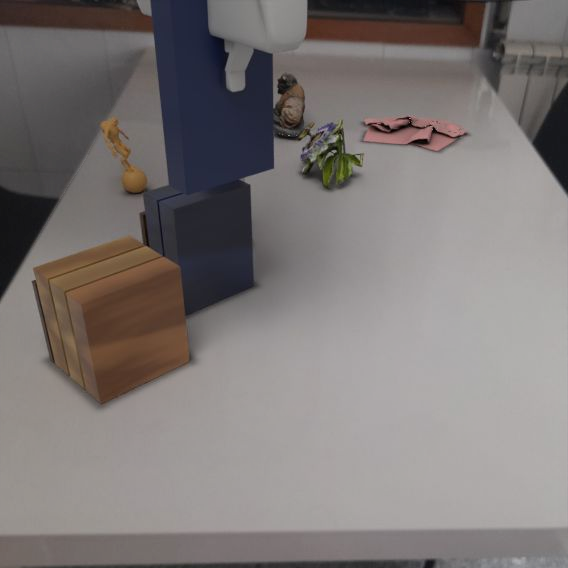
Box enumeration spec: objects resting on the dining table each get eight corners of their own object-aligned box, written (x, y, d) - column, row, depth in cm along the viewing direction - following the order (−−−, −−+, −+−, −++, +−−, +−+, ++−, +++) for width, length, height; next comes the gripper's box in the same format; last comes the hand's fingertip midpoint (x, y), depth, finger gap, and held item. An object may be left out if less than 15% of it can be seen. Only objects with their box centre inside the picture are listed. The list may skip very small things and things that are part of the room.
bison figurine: (306, 142, 140) (307, 89, 134) (269, 141, 139) (269, 88, 133) (303, 122, 149) (304, 72, 144) (269, 121, 149) (269, 71, 143)
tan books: (50, 360, 79) (27, 263, 72) (137, 323, 86) (123, 231, 79) (100, 404, 73) (81, 304, 66) (190, 361, 80) (180, 266, 73)
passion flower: (307, 202, 129) (294, 136, 129) (366, 191, 130) (353, 125, 130) (305, 189, 118) (291, 117, 118) (370, 177, 119) (356, 105, 118)
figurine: (142, 202, 113) (133, 127, 106) (104, 201, 113) (92, 125, 106) (153, 182, 120) (144, 109, 113) (116, 181, 120) (106, 108, 113)
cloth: (479, 133, 149) (481, 121, 148) (418, 159, 135) (419, 146, 134) (401, 110, 159) (402, 99, 158) (336, 132, 145) (336, 120, 144)
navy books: (149, 292, 91) (135, 188, 83) (218, 265, 98) (212, 166, 90) (184, 316, 87) (173, 209, 79) (254, 286, 94) (250, 184, 86)
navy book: (168, 186, 70) (149, -7, 60) (255, 160, 76) (251, -17, 67) (186, 196, 68) (170, -1, 58) (274, 168, 75) (272, -12, 65)
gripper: (106, -100, 63) (127, 65, 71) (259, -75, 52) (263, 117, 60) (167, -101, 67) (180, 56, 75) (322, -78, 55) (317, 104, 63)
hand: (218, 84), depth 67 cm, fingers closed on navy book, 3 cm apart
